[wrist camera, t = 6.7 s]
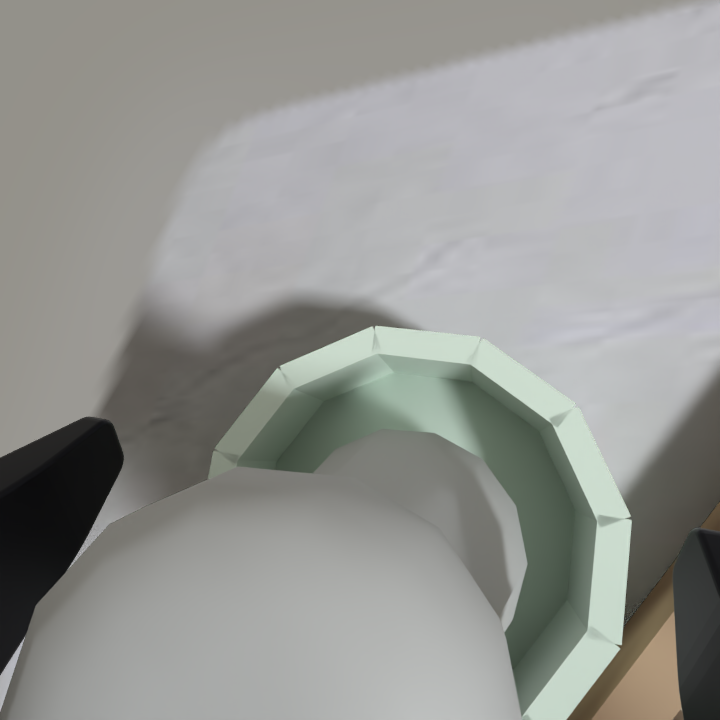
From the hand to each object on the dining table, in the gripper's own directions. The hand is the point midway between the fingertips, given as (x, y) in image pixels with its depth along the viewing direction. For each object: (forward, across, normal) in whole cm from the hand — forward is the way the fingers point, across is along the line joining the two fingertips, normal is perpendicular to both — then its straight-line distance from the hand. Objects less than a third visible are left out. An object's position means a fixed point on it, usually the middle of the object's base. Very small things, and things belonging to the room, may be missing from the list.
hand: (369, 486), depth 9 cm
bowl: (+5, 0, +7) cm, 9 cm away
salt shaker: (+5, 0, +7) cm, 8 cm away
